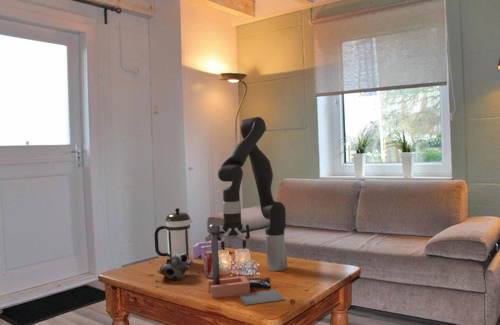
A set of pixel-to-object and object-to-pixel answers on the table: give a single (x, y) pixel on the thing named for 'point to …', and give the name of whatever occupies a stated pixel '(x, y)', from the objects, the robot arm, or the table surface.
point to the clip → (203, 248)
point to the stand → (215, 253)
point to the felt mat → (261, 297)
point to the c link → (229, 287)
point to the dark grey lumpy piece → (175, 267)
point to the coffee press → (176, 235)
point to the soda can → (208, 264)
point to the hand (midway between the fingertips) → (233, 249)
